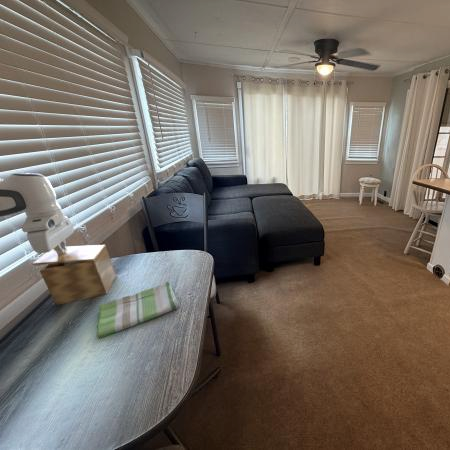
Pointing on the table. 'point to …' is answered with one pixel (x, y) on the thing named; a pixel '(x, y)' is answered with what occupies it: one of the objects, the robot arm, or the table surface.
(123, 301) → the dish towel
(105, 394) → the table surface
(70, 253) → the lid
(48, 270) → the box
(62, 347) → the table surface
